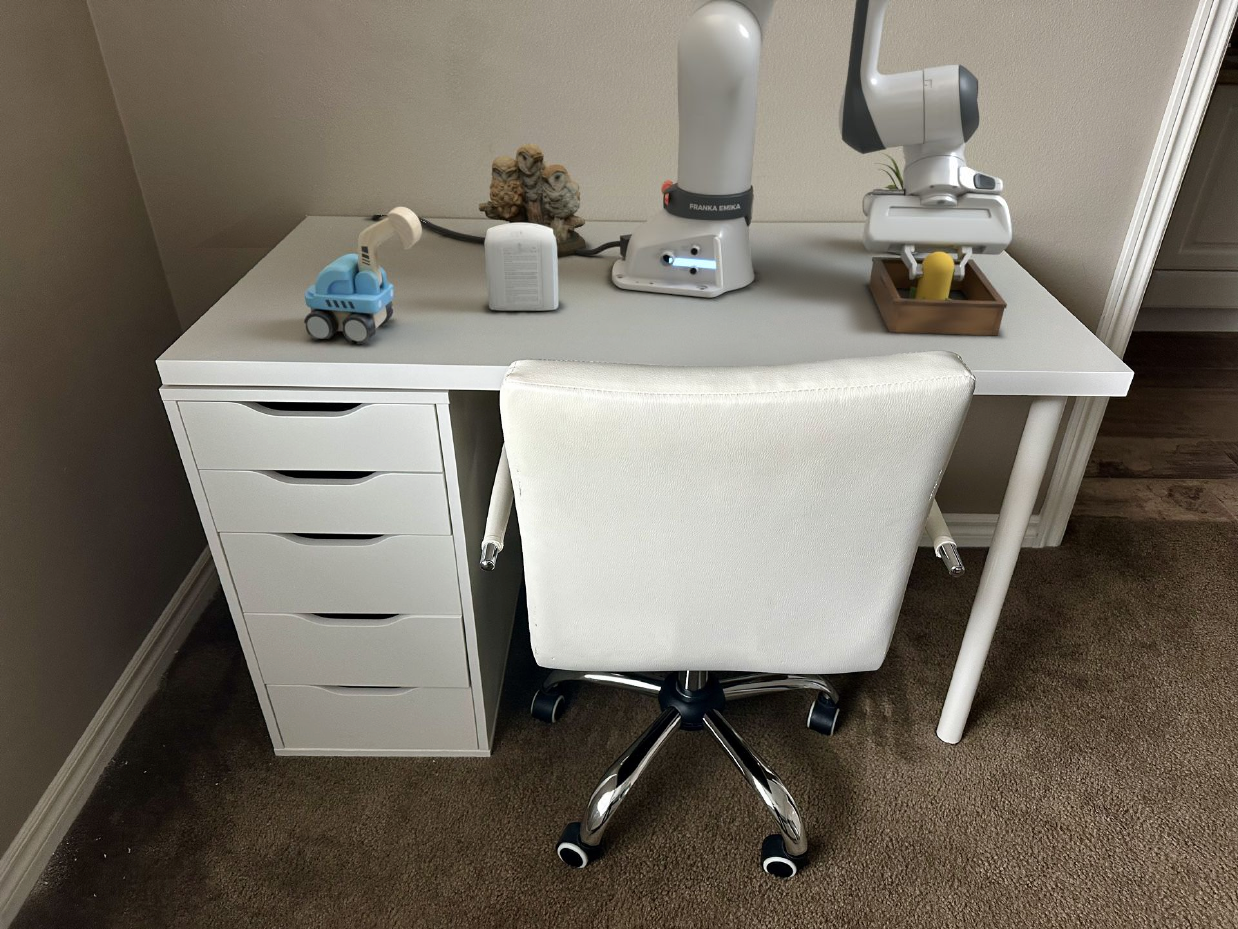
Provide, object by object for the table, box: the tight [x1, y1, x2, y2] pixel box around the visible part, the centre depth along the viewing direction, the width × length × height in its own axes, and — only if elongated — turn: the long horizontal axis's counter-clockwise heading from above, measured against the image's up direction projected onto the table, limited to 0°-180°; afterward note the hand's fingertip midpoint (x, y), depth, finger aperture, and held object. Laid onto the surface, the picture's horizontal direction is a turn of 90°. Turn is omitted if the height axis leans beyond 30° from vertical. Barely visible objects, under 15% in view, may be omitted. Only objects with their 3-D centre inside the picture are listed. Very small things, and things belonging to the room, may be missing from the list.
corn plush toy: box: [908, 252, 954, 300], centre depth 125 cm, size 5×5×8 cm
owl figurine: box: [478, 142, 587, 258], centre depth 147 cm, size 18×12×17 cm, turn 88°
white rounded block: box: [483, 222, 560, 311], centre depth 125 cm, size 10×4×12 cm, turn 92°
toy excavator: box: [303, 206, 423, 345], centre depth 116 cm, size 9×17×17 cm, turn 80°
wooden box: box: [868, 256, 1008, 336], centre depth 126 cm, size 15×18×5 cm
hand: (937, 278), depth 124 cm, fingers closed on corn plush toy, 4 cm apart
